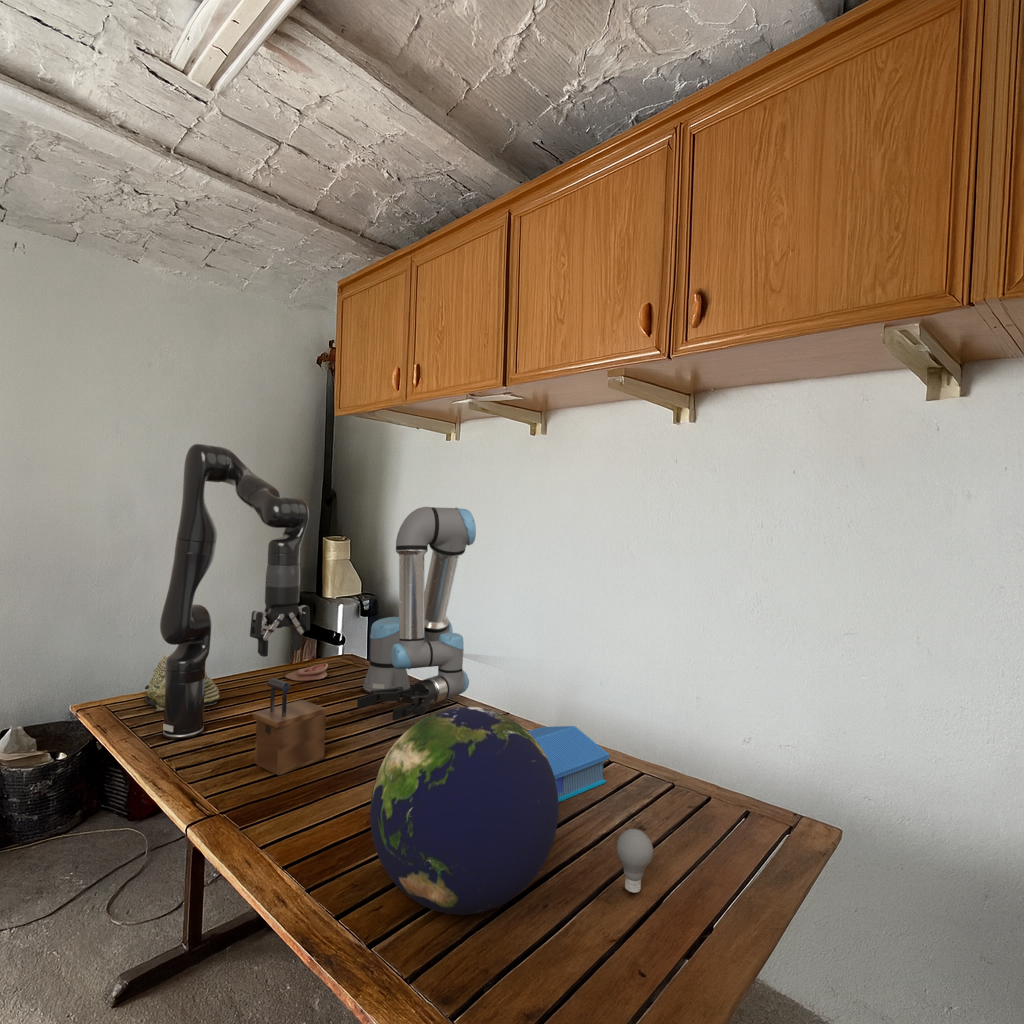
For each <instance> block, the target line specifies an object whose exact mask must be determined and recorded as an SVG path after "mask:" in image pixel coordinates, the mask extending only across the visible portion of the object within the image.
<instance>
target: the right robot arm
mask: <svg viewBox="0 0 1024 1024" xmlns="http://www.w3.org/2000/svg"><path fill="white" fill-rule="evenodd" d="M476 535H477V527H476V521H475V518H474V515H473V513H472V512H471V511H470V510H468V509H467V508H460V507H437V506H436V507H434V506H433V507H432V506H422V507H418V508H416V509H414V510H413V511H411V512H410V513H409V514H408V515H407V516H406V517H405V518H404V519H403V522H402V523H401V525H400V526H399V529H398V531H397V535H396V540H395V553H397V554H398V558H399V559H398V564H399V565H398V568H399V569H398V596H399V597H398V601H399V602H398V608H399V609H398V611H399V612H398V615H399V616H388V617H384V618H380V619H377V620H376V621H374V622H373V623H372V625H371V627H370V634H369V639H370V641H369V642H370V645H369V666H368V670H367V673H366V675H365V678H364V680H363V684H362V691H363V692H364V693H366V694H368V695H364V696H361V697H359V698H357V700H356V701H357V702H356V709H358V710H360V709H364V708H366V707H369V706H372V705H376V704H378V703H381V702H382V703H383V702H397V703H398V704H399V703H401V704H402V703H403V704H404V703H406V704H405V705H402V706H400V707H396V708H394V709H392V718H391V719H392V721H397V720H400V719H402V718H405V717H408V716H410V715H411V716H412V715H417V714H418V715H419V716H424V715H425V714H426V713H427V711H428V710H429V709H430V708H431V707H433V706H435V705H436V704H437V703H439V702H442V701H444V700H447V699H451V698H453V697H454V698H455V697H457V696H459V695H462V694H463V693H464V692H466V691H467V690H468V688H469V686H470V679H469V675H468V673H467V672H466V671H465V670H464V669H463V665H464V664H463V662H464V650H465V649H464V647H465V646H464V637H463V635H462V634H460V633H457V632H454V631H453V626H452V623H451V622H450V619H449V617H448V616H447V612H448V607H449V603H450V598H451V594H452V589H453V585H454V581H455V576H456V573H457V572H456V571H457V566H458V562H459V558H460V557H461V556H463V555H464V554H465V553H466V549H467V546H471V545H474V543H475V541H476V538H477V537H476ZM428 546H429V547H428ZM428 549H430V550H431V551H432V552H431V557H430V562H429V566H428V567H429V568H428V571H427V572H428V573H427V577H426V581H425V555H426V554H427V552H429V551H428ZM433 667H437V675H433V676H431V677H427V678H425V679H422V680H418V681H416V682H414V684H413V685H412V686H411V682H410V679H409V674H408V670H411V669H420V668H433Z"/></svg>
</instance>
